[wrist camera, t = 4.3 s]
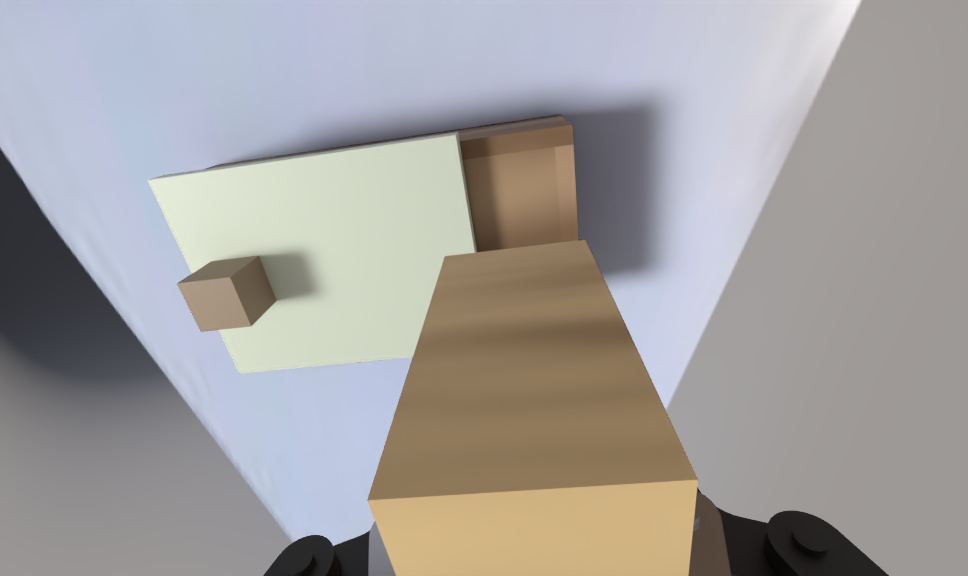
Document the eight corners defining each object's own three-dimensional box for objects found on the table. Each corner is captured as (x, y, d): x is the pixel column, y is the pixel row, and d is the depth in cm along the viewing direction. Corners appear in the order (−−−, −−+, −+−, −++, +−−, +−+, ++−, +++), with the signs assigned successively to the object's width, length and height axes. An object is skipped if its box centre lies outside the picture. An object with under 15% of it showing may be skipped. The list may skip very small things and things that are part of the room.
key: (445, 256, 13) (367, 500, 6) (585, 239, 12) (698, 479, 5) (488, 475, 17) (475, 783, 9) (595, 468, 16) (667, 784, 9)
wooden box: (215, 165, 31) (154, 185, 26) (559, 114, 29) (572, 124, 23) (275, 313, 36) (234, 355, 31) (570, 281, 34) (582, 321, 28)
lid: (163, 175, 25) (102, 194, 21) (457, 132, 23) (448, 143, 20) (248, 362, 31) (212, 403, 27) (491, 339, 29) (489, 379, 25)
